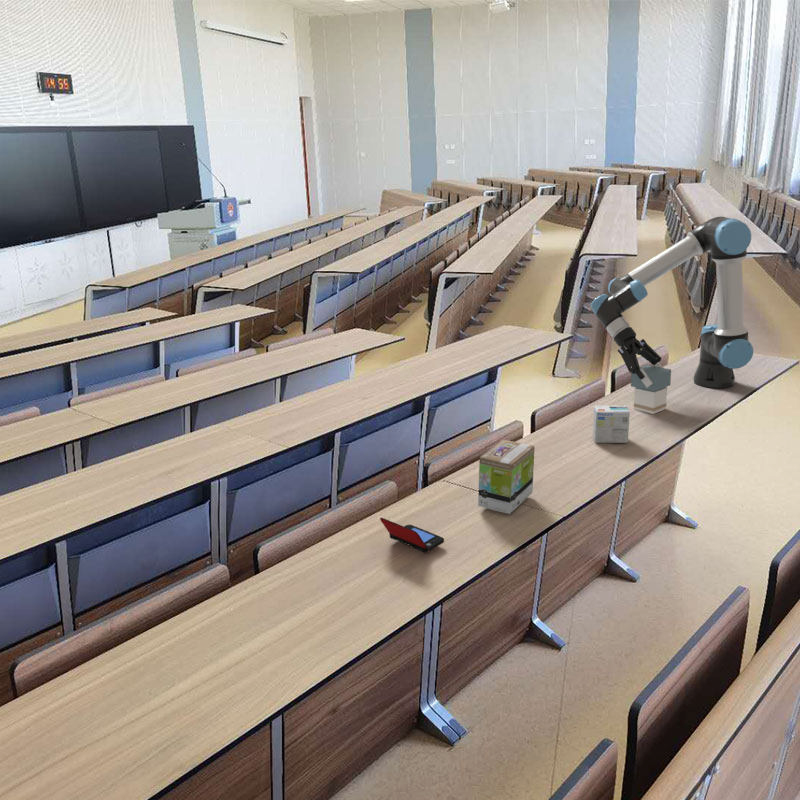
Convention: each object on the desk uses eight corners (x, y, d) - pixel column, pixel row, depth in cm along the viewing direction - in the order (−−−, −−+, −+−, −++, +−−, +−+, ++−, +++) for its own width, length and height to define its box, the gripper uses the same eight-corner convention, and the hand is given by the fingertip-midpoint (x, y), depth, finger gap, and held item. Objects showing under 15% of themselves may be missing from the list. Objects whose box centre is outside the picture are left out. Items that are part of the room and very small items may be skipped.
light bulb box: (624, 435, 256) (627, 404, 253) (628, 443, 250) (630, 411, 246) (591, 435, 257) (593, 404, 254) (594, 443, 251) (596, 411, 247)
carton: (646, 403, 285) (647, 383, 283) (666, 408, 279) (667, 387, 277) (633, 409, 281) (634, 387, 278) (653, 414, 275) (654, 392, 272)
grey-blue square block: (646, 380, 284) (647, 364, 282) (670, 385, 277) (671, 369, 275) (630, 386, 278) (631, 370, 276) (654, 391, 271) (655, 375, 269)
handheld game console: (446, 542, 193) (445, 515, 190) (417, 560, 186) (416, 532, 183) (408, 527, 201) (408, 501, 199) (379, 543, 194) (378, 516, 191)
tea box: (511, 515, 205) (512, 464, 200) (477, 507, 210) (477, 456, 206) (533, 493, 217) (535, 444, 212) (500, 485, 222) (501, 437, 217)
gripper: (633, 332, 291) (669, 380, 284) (596, 344, 277) (633, 395, 271) (646, 320, 285) (683, 369, 278) (609, 332, 272) (647, 383, 265)
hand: (658, 382), depth 274 cm, fingers closed on grey-blue square block, 10 cm apart
